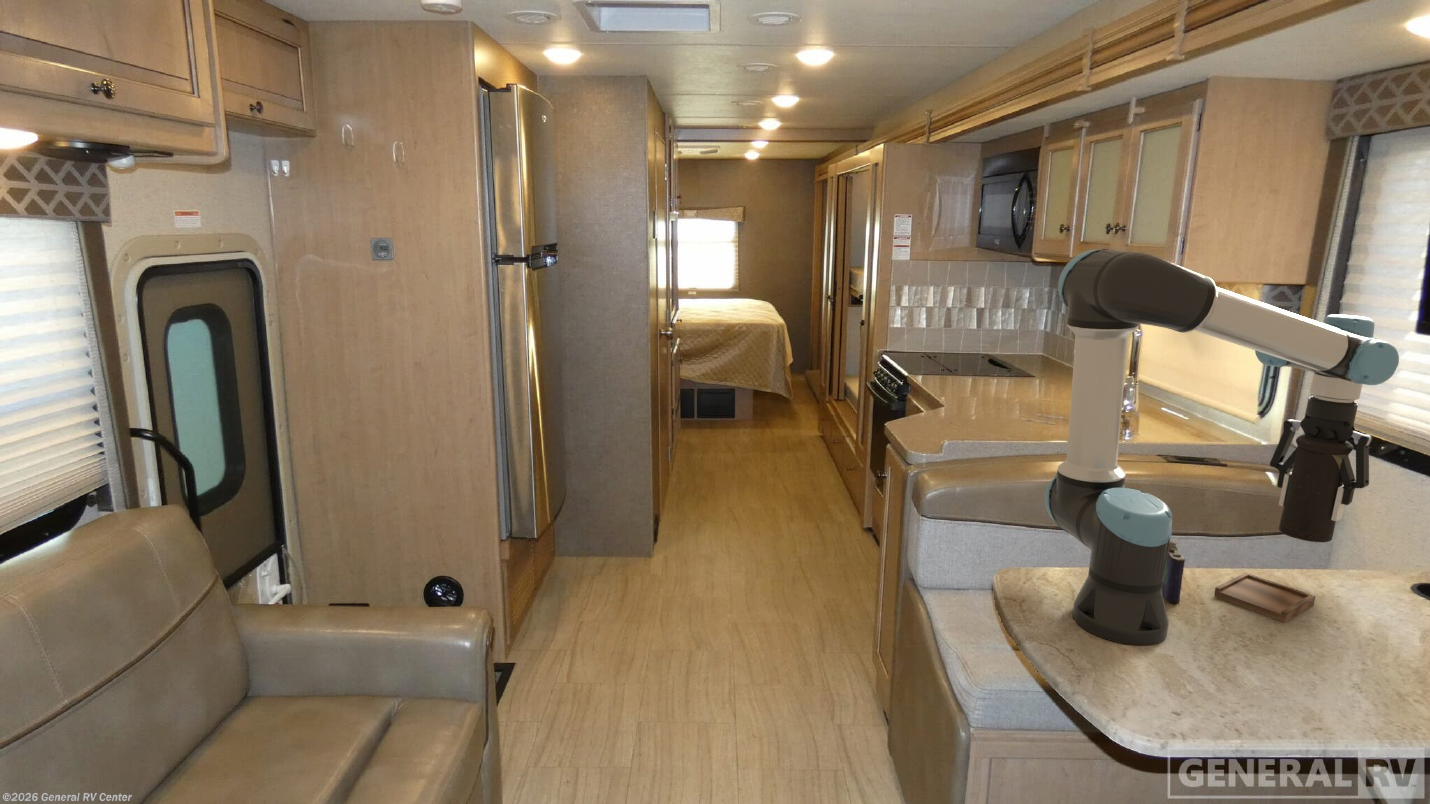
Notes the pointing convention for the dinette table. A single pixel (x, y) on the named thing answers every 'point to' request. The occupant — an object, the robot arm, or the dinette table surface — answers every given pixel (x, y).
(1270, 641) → the dinette table surface
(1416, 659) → the dinette table surface
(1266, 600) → the square wooden tray
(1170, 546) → the flask
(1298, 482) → the container
